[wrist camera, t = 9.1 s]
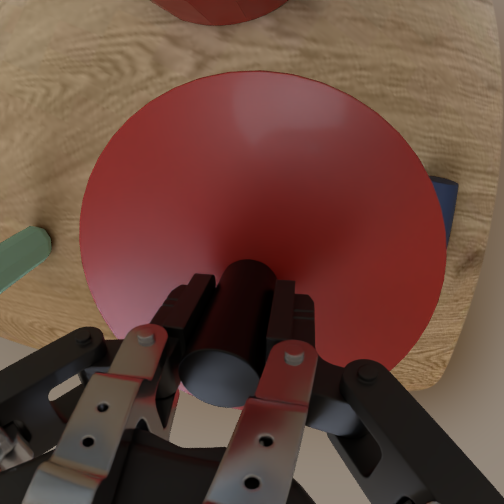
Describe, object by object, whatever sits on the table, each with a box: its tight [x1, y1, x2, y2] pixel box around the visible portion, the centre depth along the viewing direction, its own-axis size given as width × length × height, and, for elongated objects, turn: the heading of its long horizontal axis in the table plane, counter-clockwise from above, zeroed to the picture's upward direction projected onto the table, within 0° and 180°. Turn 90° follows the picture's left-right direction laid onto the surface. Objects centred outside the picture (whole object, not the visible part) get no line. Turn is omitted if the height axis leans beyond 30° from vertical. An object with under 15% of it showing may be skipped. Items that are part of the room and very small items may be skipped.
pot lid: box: [79, 71, 446, 410], centre depth 11 cm, size 17×17×7 cm
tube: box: [429, 176, 459, 250], centre depth 27 cm, size 10×4×4 cm, turn 0°
